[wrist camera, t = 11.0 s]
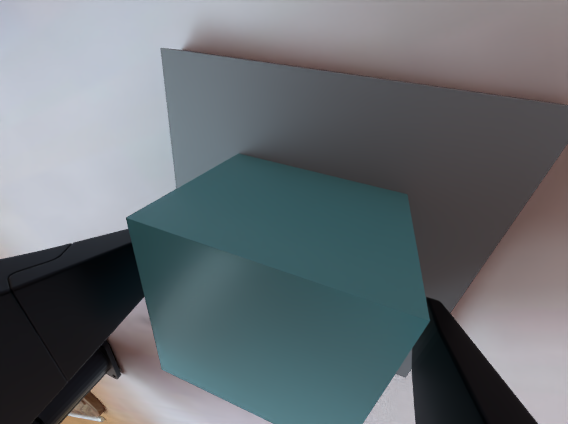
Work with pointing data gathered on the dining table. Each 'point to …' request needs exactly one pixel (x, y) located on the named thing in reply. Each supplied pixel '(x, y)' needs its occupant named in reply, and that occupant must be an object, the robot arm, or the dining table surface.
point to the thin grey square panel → (374, 147)
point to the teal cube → (282, 288)
